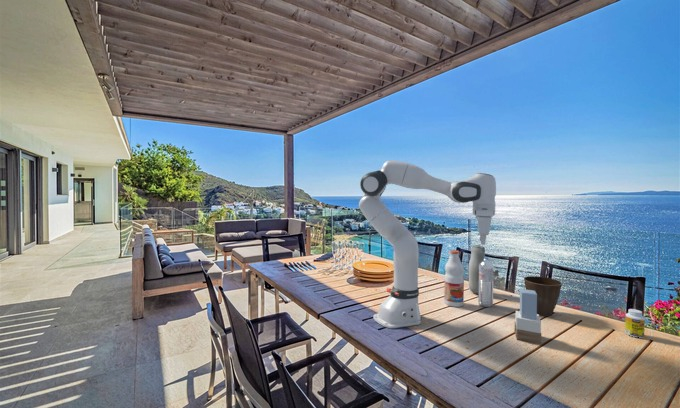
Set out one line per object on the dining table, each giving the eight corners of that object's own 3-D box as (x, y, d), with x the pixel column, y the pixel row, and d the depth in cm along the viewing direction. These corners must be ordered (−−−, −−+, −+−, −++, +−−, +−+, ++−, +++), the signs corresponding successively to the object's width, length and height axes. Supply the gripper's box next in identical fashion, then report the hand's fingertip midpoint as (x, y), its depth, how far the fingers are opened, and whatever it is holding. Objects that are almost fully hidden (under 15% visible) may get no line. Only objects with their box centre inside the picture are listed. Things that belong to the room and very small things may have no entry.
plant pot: (524, 315, 138) (525, 282, 137) (522, 305, 151) (522, 274, 151) (564, 322, 131) (564, 287, 130) (557, 310, 144) (558, 278, 144)
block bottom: (541, 344, 112) (541, 333, 112) (517, 340, 116) (517, 329, 115) (537, 335, 120) (537, 324, 119) (514, 331, 123) (514, 321, 123)
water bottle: (494, 308, 147) (495, 259, 146) (480, 307, 149) (481, 258, 148) (490, 303, 154) (491, 256, 153) (476, 302, 155) (477, 255, 154)
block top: (540, 333, 112) (540, 322, 112) (516, 328, 116) (516, 317, 116) (538, 325, 119) (538, 314, 119) (515, 321, 123) (515, 310, 123)
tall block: (536, 319, 114) (537, 294, 113) (521, 317, 116) (522, 292, 115) (534, 314, 118) (534, 290, 118) (519, 312, 120) (520, 288, 120)
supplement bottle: (630, 337, 117) (631, 312, 117) (621, 331, 122) (622, 307, 122) (647, 339, 115) (648, 314, 115) (638, 333, 121) (639, 308, 120)
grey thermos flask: (488, 292, 171) (488, 244, 170) (486, 297, 162) (486, 247, 161) (469, 289, 176) (470, 243, 175) (467, 294, 167) (467, 245, 166)
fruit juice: (453, 299, 160) (454, 248, 158) (467, 305, 151) (468, 251, 150) (440, 302, 156) (440, 250, 155) (453, 308, 147) (454, 253, 146)
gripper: (475, 209, 137) (474, 238, 138) (476, 212, 119) (474, 245, 119) (490, 209, 135) (489, 239, 135) (493, 212, 116) (492, 247, 117)
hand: (482, 242), depth 127 cm, fingers open, 8 cm apart
